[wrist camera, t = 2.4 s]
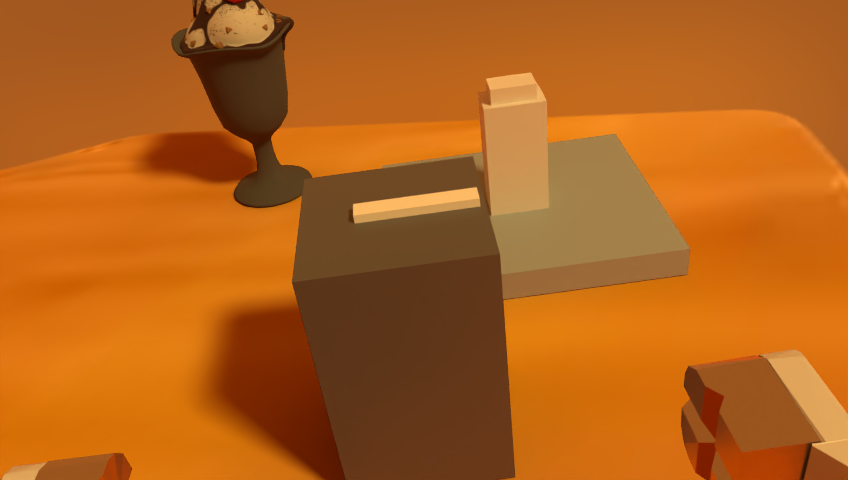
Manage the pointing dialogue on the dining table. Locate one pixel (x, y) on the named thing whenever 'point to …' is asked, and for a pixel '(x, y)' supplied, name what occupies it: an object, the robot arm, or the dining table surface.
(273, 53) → the sundae
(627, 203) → the post
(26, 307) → the dining table surface
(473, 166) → the slotted ballot box
